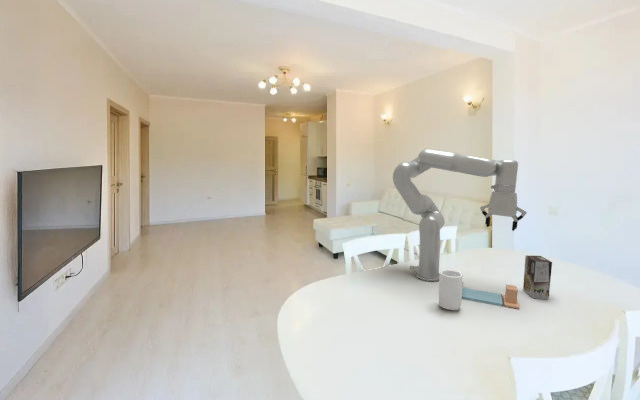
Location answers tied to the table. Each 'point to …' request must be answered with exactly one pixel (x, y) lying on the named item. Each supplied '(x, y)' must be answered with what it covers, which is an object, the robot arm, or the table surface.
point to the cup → (450, 289)
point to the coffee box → (537, 276)
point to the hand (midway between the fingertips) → (500, 228)
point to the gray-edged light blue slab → (482, 296)
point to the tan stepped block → (511, 297)
